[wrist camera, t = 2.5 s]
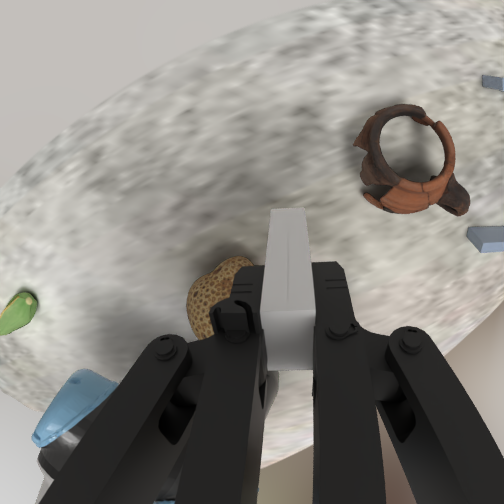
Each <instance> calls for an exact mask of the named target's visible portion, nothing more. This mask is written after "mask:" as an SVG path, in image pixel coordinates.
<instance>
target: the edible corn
mask: <svg viewBox="0 0 504 504" xmlns="http://www.w3.org/2000/svg"><path fill="white" fill-rule="evenodd" d="M36 306H37V301H36V300H35V299H34V297H32V295H31V294H30V293H25V292H23V293H20V294H17V295H15V296H14V297H13V298H12V299H11V301H10V302H9V303H8V305H7V306H6V308H5V309H4V310H3V312H2V313H1V316H0V336H2V335H7V334H10V333H11V332H12V331H15V330H17V329H19V328H21V327H23V326H25V325H27V324H28V323H29V322H30V321H31V320H32V318H33V317H34V314H35V312H36Z"/></svg>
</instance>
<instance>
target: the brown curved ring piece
mask: <svg viewBox="0 0 504 504" xmlns="http://www.w3.org/2000/svg"><path fill="white" fill-rule="evenodd" d="M398 116H412V119H413V120H414V121H416V122H418V123H420V124H423V125H425V126H428V125H430V126H431V127H432V129H433V130H434V131H435V132H436V133H437V135H438V136H439V138H440V140H441V142H442V145H443V148H444V153H445V161H444V167H443V169H442V171H441V172H440V174H439V175H438V176H434V175H433V176H431V178H430V180H429V181H428V182H413V181H409V180H407V179H405V178H403V177H400V176H398V175H397V174H396V173H395V172H394V171H393V170H392V169H391V168H390V167H389V165H388V164H387V162H386V161H385V159H384V157H383V155H382V152H381V148H380V145H379V143H380V142H379V140H380V134H381V130H382V128H383V126H384V125H385V124H386V123H387V122H388V121H389V120H391V119H392V118H395V117H398ZM353 146H358V147H360V148H362V149H364V150H366V151H367V152H368V154H367V155H366V156H365V157H364V160H363V162H362V171H361V173H360V177H361V179H362V181H363V183H364V184H365V185H366V186H368V185H370V184H375V185H389V186H392V187H391V189H390V190H389V191H388V192H387V193H386V194H385V195H383V196H382V197H381V198H380V202H379V201H378V200H376V199H375V198H374V197H372V196H371V195H370V194H369V193H365V194H364V195H363V196H364V197H365V198H366V199H367V200H368V201H369V202H370V203H371V204H373V205H375V206H376V207H377V208H380V209H383V210H384V211H387V212H390V213H397V214H410V213H414V212H419V211H422V210H425V209H427V208H428V207H429V205H433V204H435V203H436V204H437V205H439V206H440V207H442V208H443V209H445V210H446V211H448V212H450V213H451V214H453V215H456V216H461V215H464V214H465V213H467V212H468V209H469V206H470V196H469V194H468V192H467V191H466V190H465V189H464V188H463V187H462V186H461V185H460V184H459V183H458V182H457V181H456V179H455V176H454V173H453V170H454V166H455V148H454V143H453V141H452V137H451V136H450V133H449V131H448V130H447V128H446V127H445V126H444V124H443V123H442V122H441V121H437V122H436V123H435V122H433V121H432V120H431V119H430V118H429V117H428V116H426V113H425V111H424V110H423V108H422V107H420V106H416V105H407V104H399V105H394V106H392V107H387V108H384V109H382V110H379V111H377V112H376V113H375V115H374V116H371V117H370V118H369V119H368V120H367V122H366V123H365V125H364V127H363V129H362V131H361V132H360V134H359V136H358V137H357V138H356V140H355V141H354V143H353Z"/></svg>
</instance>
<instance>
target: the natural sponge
mask: <svg viewBox="0 0 504 504" xmlns="http://www.w3.org/2000/svg"><path fill="white" fill-rule="evenodd" d="M242 266H254V265H253V264H252V263H251V261H250V260H248V259H247V258H245V257H242V256H235V257H231V258H229V259H227V260H225V261H223V262H222V263H221V264H219V265H218V266H217V268H216V269H215V270H214V271H213V272H211V273H209V274H206V275H204V276H202V277H200V278H199V279H198V280H196V281H195V282H194V284H193V285H192V287H191V288H190V290H189V293H188V297H187V305H186V307H187V314H188V319H189V321H190V325H191V328H192V330H193V332H194V334H195V335H196V337H197V338H198V339H199V340H202V339H205V338H208V337H210V336H212V335H214V331H213V328H212V324H211V321H210V317H209V314H208V313H209V311H210V309H211V308H212V306H214V305H215V304H216V303H217V302H219V301H221V300H224V299H226V298H229V297H230V294H231V288H232V286H233V285H232V284H233V280H234V275H235V274H236V273H237V272H238V270H239V269H240V268H241V267H242Z"/></svg>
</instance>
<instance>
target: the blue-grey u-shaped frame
mask: <svg viewBox="0 0 504 504" xmlns="http://www.w3.org/2000/svg"><path fill="white" fill-rule="evenodd" d="M482 80H483V87H487V88H491V89H495V90H499V91H503V92H504V78H499V77H493V76H485V75H482ZM467 237H468V239H469V240H470V241H471V242H472V243H473V244H474V246H475V247H476V248H477V249H478V250H479V252H480V253H487V252H501V251H504V226H491V227H469V228H468V233H467Z"/></svg>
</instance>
